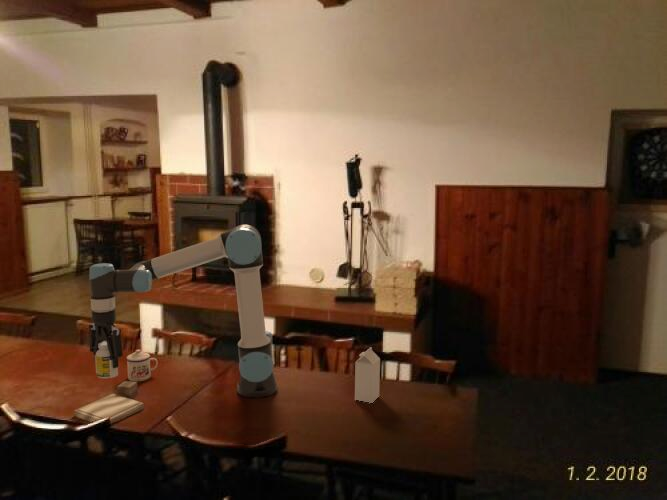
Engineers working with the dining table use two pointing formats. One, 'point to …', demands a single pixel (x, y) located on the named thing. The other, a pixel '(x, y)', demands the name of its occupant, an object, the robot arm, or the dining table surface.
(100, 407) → the beech board
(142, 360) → the teacup with lid
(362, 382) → the milk carton
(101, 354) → the pill bottle
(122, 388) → the walnut cube
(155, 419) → the dining table surface
